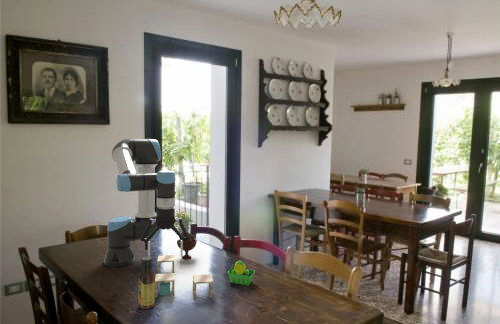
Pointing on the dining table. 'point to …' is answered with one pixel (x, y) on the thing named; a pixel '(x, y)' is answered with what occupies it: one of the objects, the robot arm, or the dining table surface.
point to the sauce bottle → (146, 284)
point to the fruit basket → (240, 274)
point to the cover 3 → (202, 280)
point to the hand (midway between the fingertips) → (165, 256)
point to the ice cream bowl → (187, 245)
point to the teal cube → (164, 288)
